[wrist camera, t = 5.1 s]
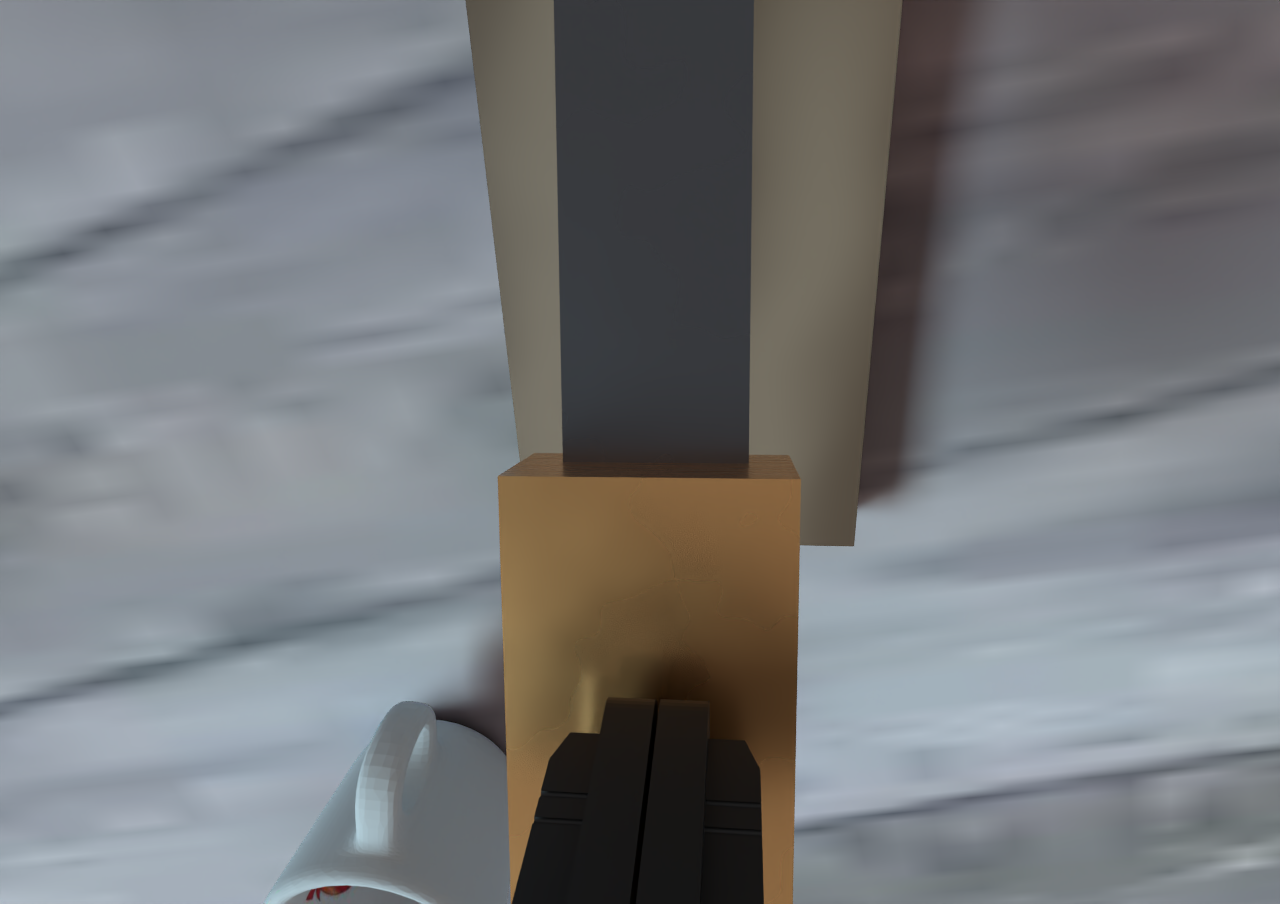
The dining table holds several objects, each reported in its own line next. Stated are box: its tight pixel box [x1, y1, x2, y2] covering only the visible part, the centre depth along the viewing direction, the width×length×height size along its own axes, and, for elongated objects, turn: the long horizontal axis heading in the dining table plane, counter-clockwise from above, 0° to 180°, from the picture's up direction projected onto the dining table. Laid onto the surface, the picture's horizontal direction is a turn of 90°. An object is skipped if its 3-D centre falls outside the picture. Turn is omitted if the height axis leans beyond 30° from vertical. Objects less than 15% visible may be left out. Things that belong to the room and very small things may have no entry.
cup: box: [264, 701, 510, 904], centre depth 31 cm, size 11×8×8 cm
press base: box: [466, 0, 903, 546], centre depth 19 cm, size 10×26×8 cm, turn 2°
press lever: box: [498, 0, 801, 904], centre depth 13 cm, size 4×24×3 cm, turn 2°
